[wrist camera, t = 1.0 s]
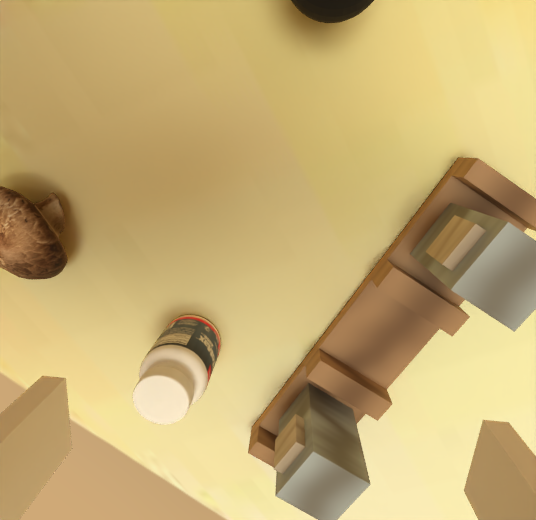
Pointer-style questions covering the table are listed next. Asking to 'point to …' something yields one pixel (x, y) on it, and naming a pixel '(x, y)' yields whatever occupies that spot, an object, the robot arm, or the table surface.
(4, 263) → the mushroom
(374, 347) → the rail
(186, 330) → the pill bottle
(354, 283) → the table surface
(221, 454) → the table surface
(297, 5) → the black round piece
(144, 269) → the table surface
